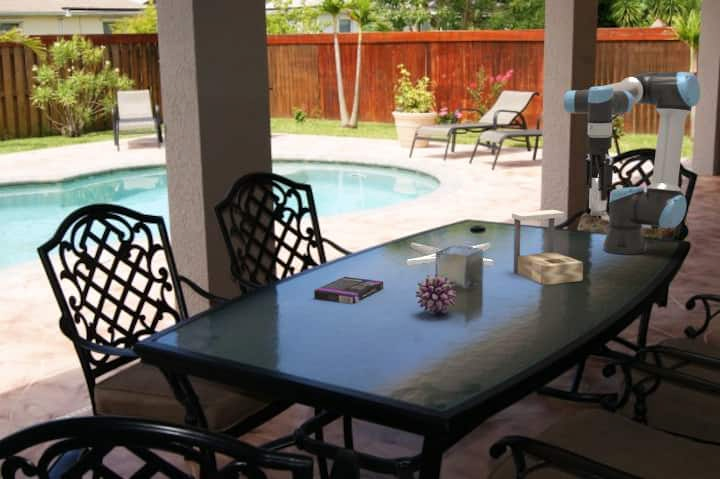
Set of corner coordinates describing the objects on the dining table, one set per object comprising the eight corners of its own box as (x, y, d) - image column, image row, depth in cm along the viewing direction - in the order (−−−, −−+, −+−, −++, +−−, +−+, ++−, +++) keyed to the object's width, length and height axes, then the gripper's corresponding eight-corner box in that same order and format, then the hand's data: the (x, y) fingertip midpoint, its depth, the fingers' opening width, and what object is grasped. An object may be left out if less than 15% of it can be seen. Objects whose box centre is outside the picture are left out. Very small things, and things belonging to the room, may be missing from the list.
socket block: (554, 269, 314) (554, 251, 313) (582, 280, 299) (583, 262, 297) (517, 273, 310) (517, 255, 308) (544, 284, 294) (544, 266, 293)
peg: (598, 213, 301) (600, 176, 298) (606, 215, 297) (607, 178, 295) (588, 214, 300) (589, 177, 297) (595, 216, 296) (596, 178, 293)
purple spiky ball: (429, 322, 256) (429, 280, 254) (407, 312, 267) (407, 271, 264) (464, 316, 261) (464, 275, 259) (441, 306, 272) (441, 266, 270)
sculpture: (406, 259, 323) (410, 242, 353) (406, 267, 324) (410, 249, 353) (493, 260, 320) (490, 242, 349) (493, 267, 321) (490, 249, 350)
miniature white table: (552, 267, 317) (554, 209, 313) (563, 271, 311) (564, 212, 307) (511, 272, 311) (511, 213, 307) (520, 276, 306) (521, 216, 301)
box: (353, 307, 276) (384, 290, 293) (353, 295, 275) (384, 279, 292) (313, 301, 283) (345, 285, 300) (313, 290, 282) (345, 274, 299)
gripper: (574, 134, 300) (572, 206, 305) (605, 139, 284) (603, 214, 289) (594, 133, 302) (592, 204, 307) (626, 137, 287) (623, 212, 291)
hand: (597, 209), depth 298 cm, fingers closed on peg, 4 cm apart
